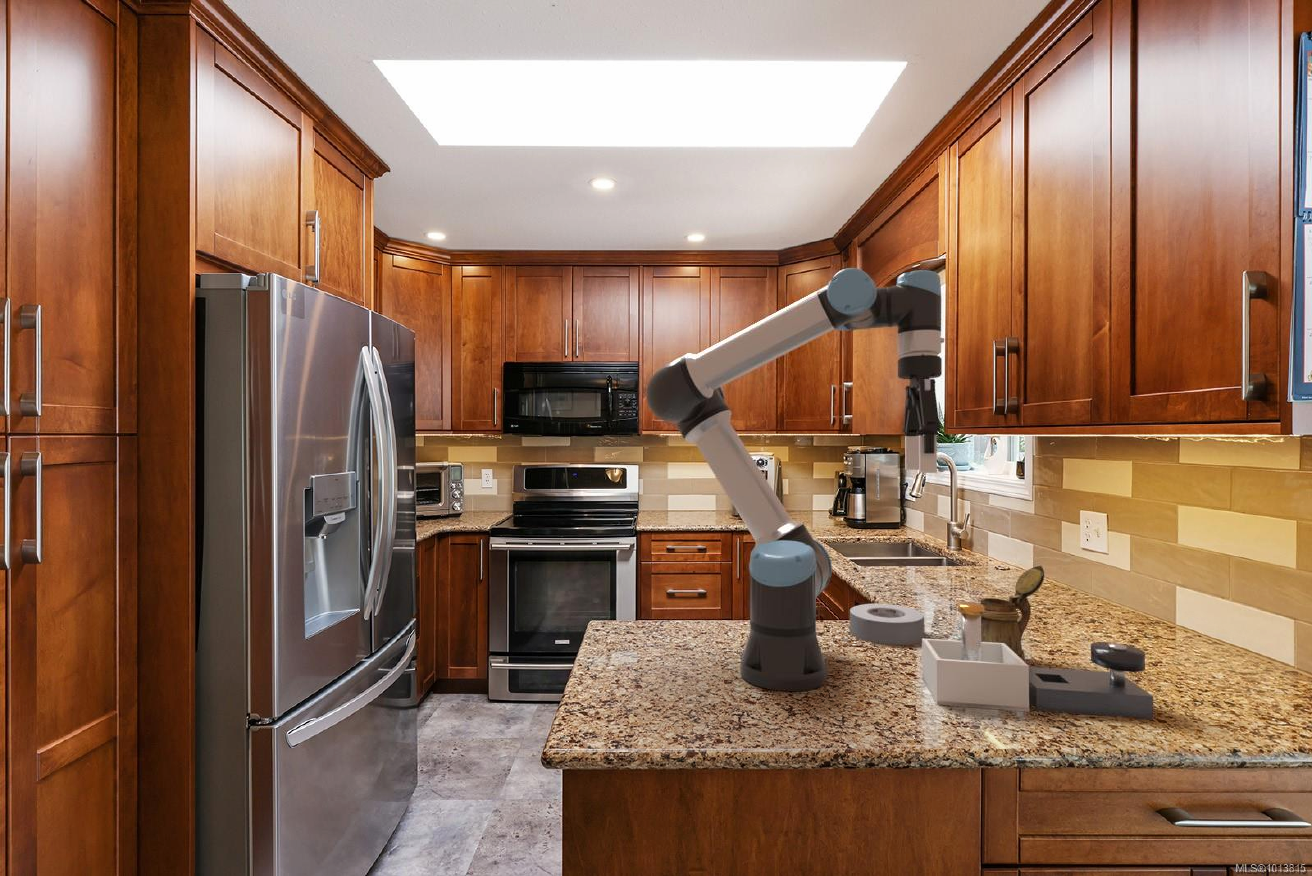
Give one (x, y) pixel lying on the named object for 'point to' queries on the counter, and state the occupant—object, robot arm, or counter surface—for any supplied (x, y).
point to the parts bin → (975, 676)
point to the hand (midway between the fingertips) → (920, 471)
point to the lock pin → (970, 630)
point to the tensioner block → (1094, 685)
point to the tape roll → (887, 624)
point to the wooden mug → (1010, 613)
